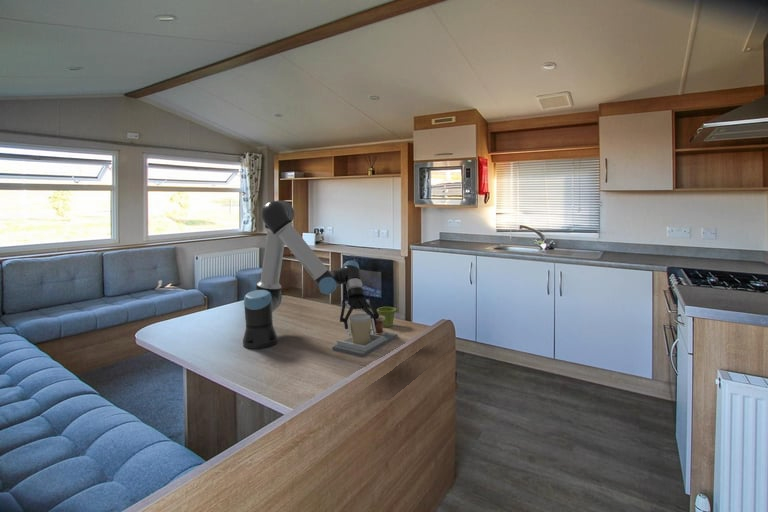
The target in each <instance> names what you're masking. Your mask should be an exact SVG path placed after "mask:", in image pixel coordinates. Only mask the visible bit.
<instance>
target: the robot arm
mask: <svg viewBox="0 0 768 512" xmlns="http://www.w3.org/2000/svg"><path fill="white" fill-rule="evenodd" d="M260 214H261V219H262V221H263V223H264V229H265V230H266V231H267V233H266V241H265V246H264V253H263V261H262V268H261V274H260V275H261V277H260V280H259V281H258V282H257V283H256V287H255V290H252V291H249V292H247V293H246V294H245V295H244V297H243V300H244V301H243V305H244V315H245V316H244V317H245V331H244V335H243V338H242V346H243V347H244V348H246V349H249V348H250V350H252V349H253V350H259V349H266V348H270V347H273V346H274V345H276V344H278V341H279V340H278V338H279V337H278V335H277V332H276V329H275V327H274V324H273V322H274V321H273V312H275V310H277V309H278V307H280V305H281V302H282V297H283V296H282V284H280V278H281V271H282V263H283V258H284V257H283V256H284V249H285V246H286V247H287V249H289V251H290V253H292V255H293V256H294V257H295V259H296V260H297V261H298V262H299V263H300V264H301V266H303V268H304V269H305V270H306V272H307V273H308V274H309V275H310V276H311V278H312V279H313V281H315V282H316V284H317V285H318V289H319V291H320V292H321V293H322V294H324V295H330V294H332V293H334V292H335V291H336V290H337V287H338V286H341V285H344V284H345V286H346V292H347V298H348V299H347V300H344V299H343V300H342V301H341V307H342V308H341V311H340V316H339V322H340V323H343V325H344V329H345V330H347V336H348V338H351V336H352V335H351V325H350V316H351V314H352V313H353V310H361V309H362V311H364V313H365V314H368V315H370V317H371V329H372V330H373V334H375V333H376V329H375V327H376V325H377V323H376V319H378V318H379V313H378V310H377V308H376V307H375V305H374V303H373V299H372V298H371V297H369V299H367V298H366V297H365V291H364V287H363V282H362V275H361V269H360V266H359V263H358V261H356V260H347V261H345V262H344V263H343V266H342V267H340V268H337V269H336V268H335V269H333V270H329V269H328V268H327V267H326V266H325V264H324V263H323V262H322V260H321V259H320V258H319V257H318V255H317V254H316V253H315V252H314V250H313V249H312V248H311V247H310V245H309V244H308V243H307V242H306V241H305V239H304V238H303V237H302V236H301V235H300V233H299V232H298V231H297V229H296V228H295V227H294V226H293V220H294V218H295V210H294V208H293V206H292V204H290V203H289V202H287V201H284V200H272V201H271V200H270V201H269V202H266V203H265V204H264V205H263V206H262V209H261V213H260ZM366 303H367V305H368V306H369V307H368V306H367V305H366ZM347 305H348V306H349V309H348V310H347V313H346V315H345V317H344V314H345V312H346V311H345V310H346V307H347ZM369 308H370V309H369Z"/></svg>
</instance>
